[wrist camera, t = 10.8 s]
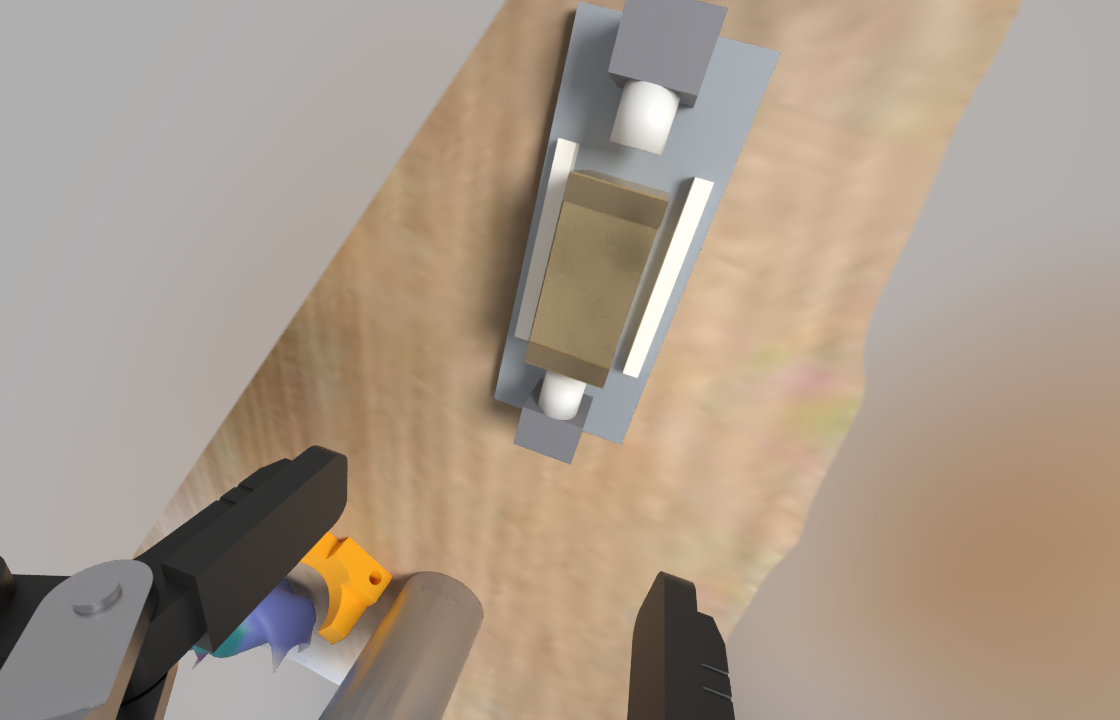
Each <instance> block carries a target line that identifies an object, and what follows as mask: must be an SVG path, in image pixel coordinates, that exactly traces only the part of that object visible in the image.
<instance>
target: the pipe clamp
mask: <svg viewBox="0 0 1120 720" xmlns="http://www.w3.org/2000/svg"><path fill="white" fill-rule="evenodd" d="M300 563H304V564H307V565H309V566H311V567H313V568H315V569H316V570H317V571H318V572H319V573H320V574H321V575H322V576H323V578H324V579H325V581H326V584H327V586H328V590H329V599H330V600H329V609H328V613H327V616H326V619H325V621H324V623H323V625H322V627H321V628H320V630H319V631H318V633H319V634H320V635H321V636H323V637H324V638H325V639H326V640H327V641H328V642H330V643H331V644H332V645H333V644H335V643H337V642H339V641H341V640H343V639H345V638H346V636H347V635H348V633H349V632H350V631H351V629H352V628H353V626H354V625H355V623H356V622H357V620H358V619H359V618H360V616H361V615H362V613H363V612H364V610H365V609H366V607H368V606H370V605H372V604H374V603H376V601H377V600H378V598H379V597H380V595H381V594H382V592H383V591H384V589H385V588H386V586H387V585H388V583H389V582H390V580H391V579H392V576H391V575H390V574H389V573H388V572H387V571H386V570H385V569H384V568H383V567H381V566H380V565H379V564H378V563H377V562H376V561H375V560H374V559H373V558H372V557H371V556H369V555H368V554H367V553H366V552H365V551H364V550H363V549H362V548H361V547H360V546H358V545H357V544H356V543H355V542H354V541H353V540H352V539H351V538H350V537H348V538H347V539H345V540H344V541H343V542H340V541H338V540H337V539H336V538H335V537H334V536H333V535H332V534H331V533H330V532H327V533H326V534H325V535H324V536H323V537H322V538H321V539H320V540H319V541H318V543H317V544H316V545H315V546H314V547H313V548H312V549H311V550H310V551H309V552H308V553H307V554H306V555H305V556H304V557H303V558H302V560H301V561H300Z"/></svg>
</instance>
